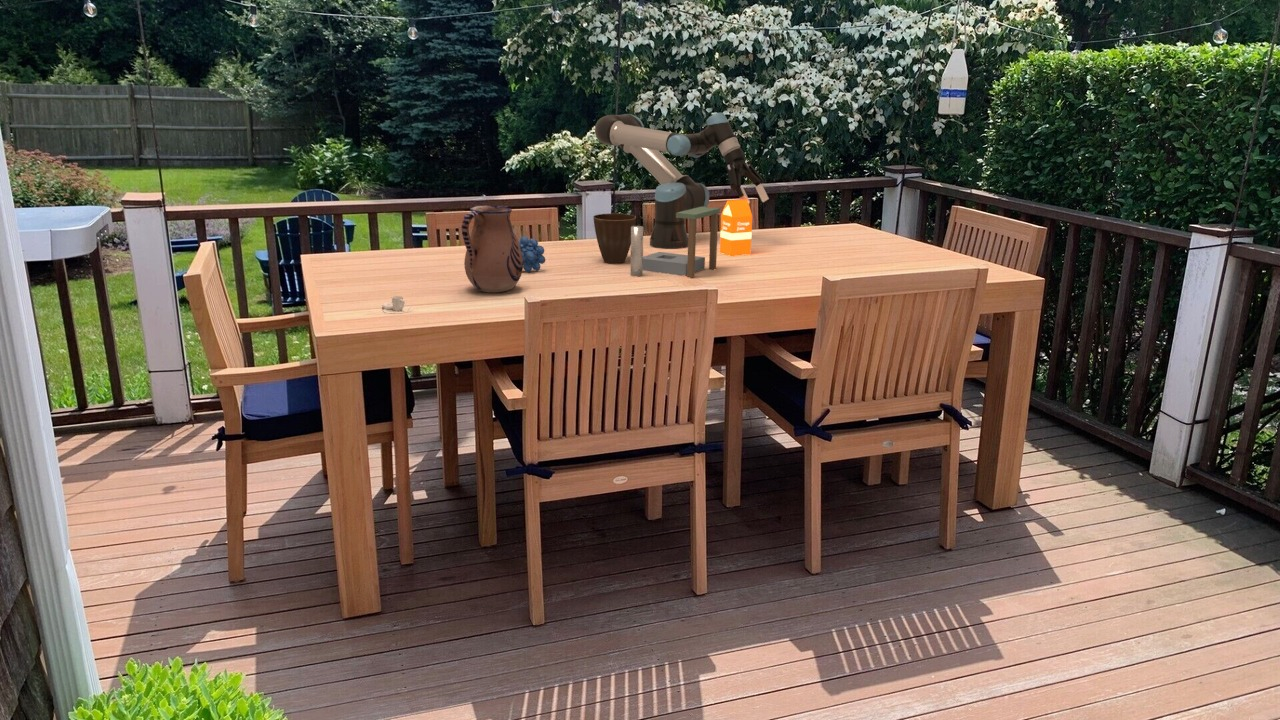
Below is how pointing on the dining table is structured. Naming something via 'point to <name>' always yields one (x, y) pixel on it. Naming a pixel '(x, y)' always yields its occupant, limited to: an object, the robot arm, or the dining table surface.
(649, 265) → the socket block
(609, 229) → the plant pot
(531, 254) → the grapes
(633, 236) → the steel peg
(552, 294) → the dining table surface
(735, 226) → the orange juice
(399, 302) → the teacup and saucer
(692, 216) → the awning
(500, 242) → the ceramic pitcher
